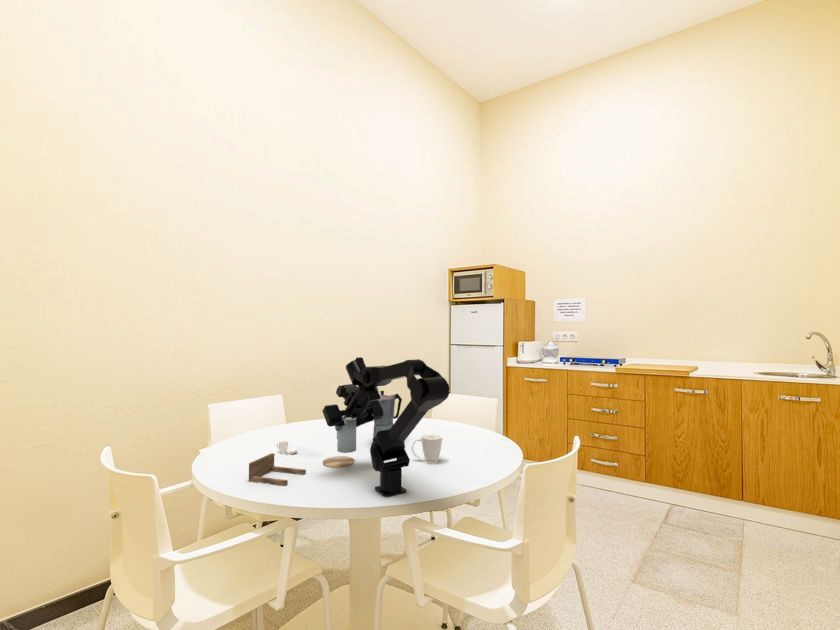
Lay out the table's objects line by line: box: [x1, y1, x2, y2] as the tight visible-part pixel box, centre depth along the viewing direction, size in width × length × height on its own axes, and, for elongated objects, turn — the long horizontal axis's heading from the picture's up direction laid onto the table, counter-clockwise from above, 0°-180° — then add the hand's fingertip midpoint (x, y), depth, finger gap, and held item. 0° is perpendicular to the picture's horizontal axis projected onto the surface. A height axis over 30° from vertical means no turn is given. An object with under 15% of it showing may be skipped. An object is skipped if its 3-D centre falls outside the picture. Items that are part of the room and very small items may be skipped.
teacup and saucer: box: [271, 440, 299, 457], centre depth 146 cm, size 9×8×4 cm
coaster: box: [322, 455, 355, 468], centre depth 136 cm, size 10×10×1 cm
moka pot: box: [372, 390, 403, 439], centre depth 159 cm, size 10×15×20 cm, turn 135°
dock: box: [248, 452, 307, 487], centre depth 122 cm, size 12×10×5 cm
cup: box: [411, 433, 443, 464], centre depth 137 cm, size 7×10×8 cm
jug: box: [336, 418, 357, 454], centre depth 133 cm, size 9×6×10 cm, turn 38°
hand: (345, 428), depth 133 cm, fingers closed on jug, 6 cm apart
